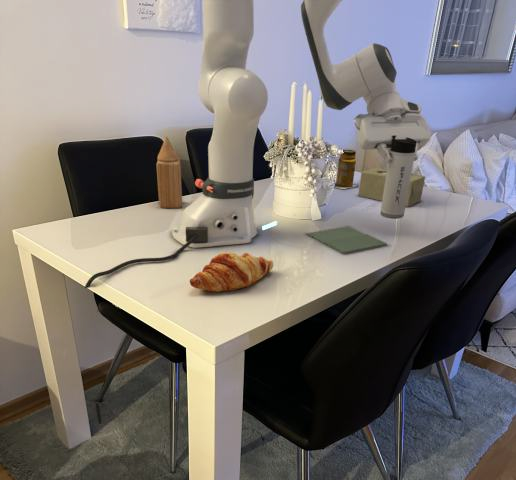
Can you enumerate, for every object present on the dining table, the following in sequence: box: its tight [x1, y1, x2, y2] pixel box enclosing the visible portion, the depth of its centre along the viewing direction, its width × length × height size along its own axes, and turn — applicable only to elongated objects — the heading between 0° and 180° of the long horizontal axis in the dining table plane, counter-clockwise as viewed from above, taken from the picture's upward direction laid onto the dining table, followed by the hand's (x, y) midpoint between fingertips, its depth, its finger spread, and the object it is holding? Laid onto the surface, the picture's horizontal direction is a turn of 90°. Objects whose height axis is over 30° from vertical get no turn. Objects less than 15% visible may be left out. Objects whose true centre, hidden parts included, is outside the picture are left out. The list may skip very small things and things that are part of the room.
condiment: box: [333, 149, 358, 190], centre depth 179 cm, size 7×8×12 cm
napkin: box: [306, 226, 388, 255], centre depth 133 cm, size 14×16×1 cm
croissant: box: [189, 252, 274, 293], centre depth 106 cm, size 21×10×8 cm, turn 129°
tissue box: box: [357, 155, 426, 208], centre depth 165 cm, size 19×10×16 cm, turn 51°
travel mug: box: [380, 135, 417, 220], centre depth 132 cm, size 6×7×20 cm
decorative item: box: [156, 136, 183, 209], centre depth 149 cm, size 7×7×20 cm
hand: (402, 160), depth 129 cm, fingers closed on travel mug, 6 cm apart
